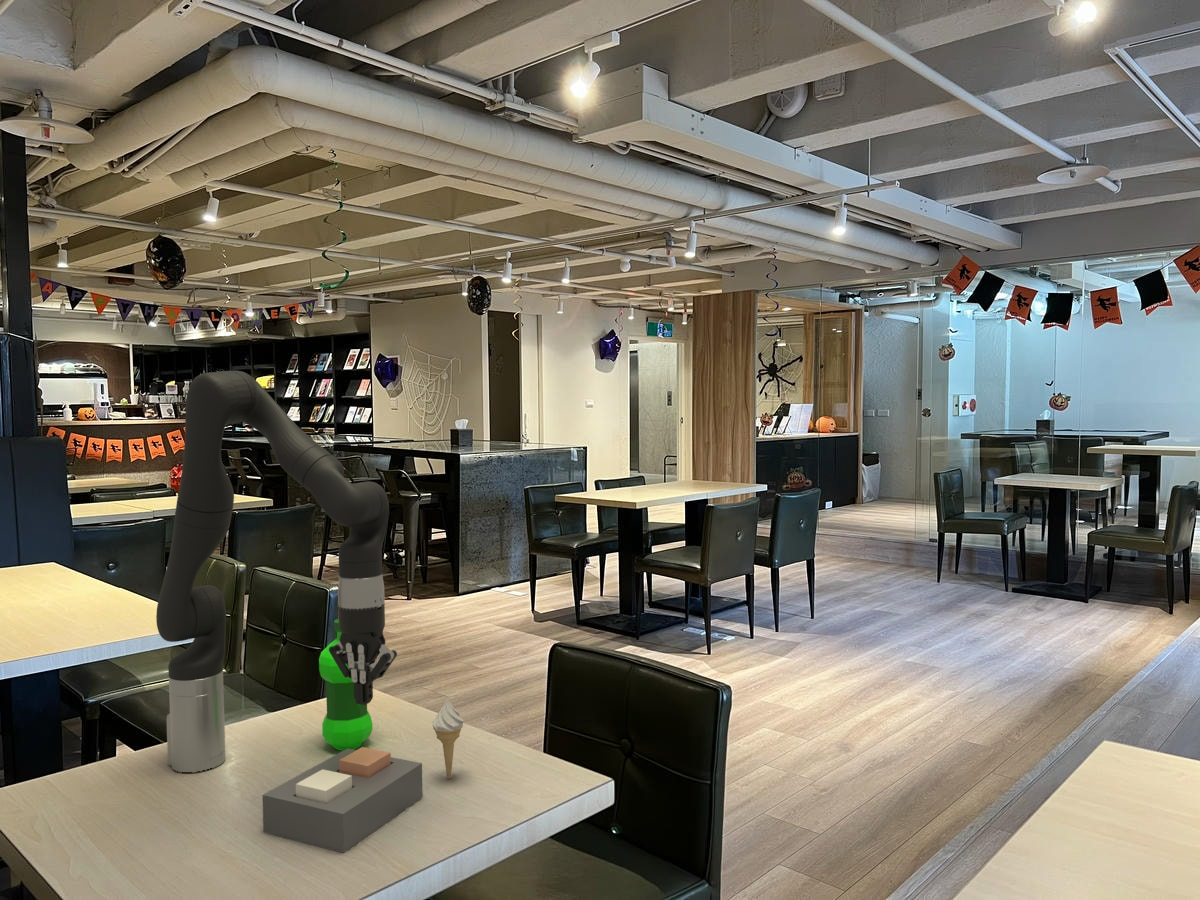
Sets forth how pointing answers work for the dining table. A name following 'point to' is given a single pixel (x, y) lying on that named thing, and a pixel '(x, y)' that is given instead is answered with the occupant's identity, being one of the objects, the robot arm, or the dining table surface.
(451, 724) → the ice cream cone
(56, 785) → the dining table surface
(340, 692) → the plastic bottle
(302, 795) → the white key
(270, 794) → the block
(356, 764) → the terracotta key
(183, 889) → the dining table surface
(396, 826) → the dining table surface
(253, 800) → the dining table surface
